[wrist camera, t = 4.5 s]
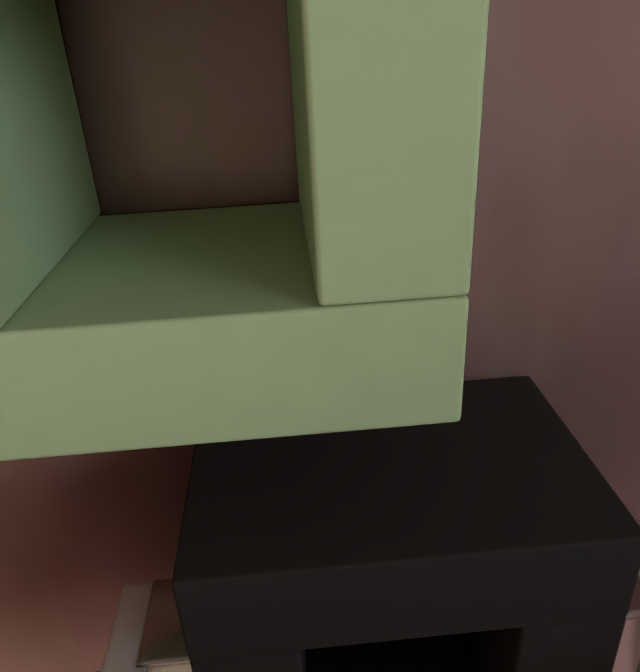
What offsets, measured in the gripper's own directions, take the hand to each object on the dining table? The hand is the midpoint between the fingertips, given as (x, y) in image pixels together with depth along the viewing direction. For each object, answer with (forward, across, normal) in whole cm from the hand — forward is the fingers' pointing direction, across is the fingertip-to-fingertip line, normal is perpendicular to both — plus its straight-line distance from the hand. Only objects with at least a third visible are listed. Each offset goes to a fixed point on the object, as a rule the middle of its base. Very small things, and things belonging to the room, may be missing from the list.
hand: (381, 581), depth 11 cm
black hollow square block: (+2, 0, 0) cm, 2 cm away
